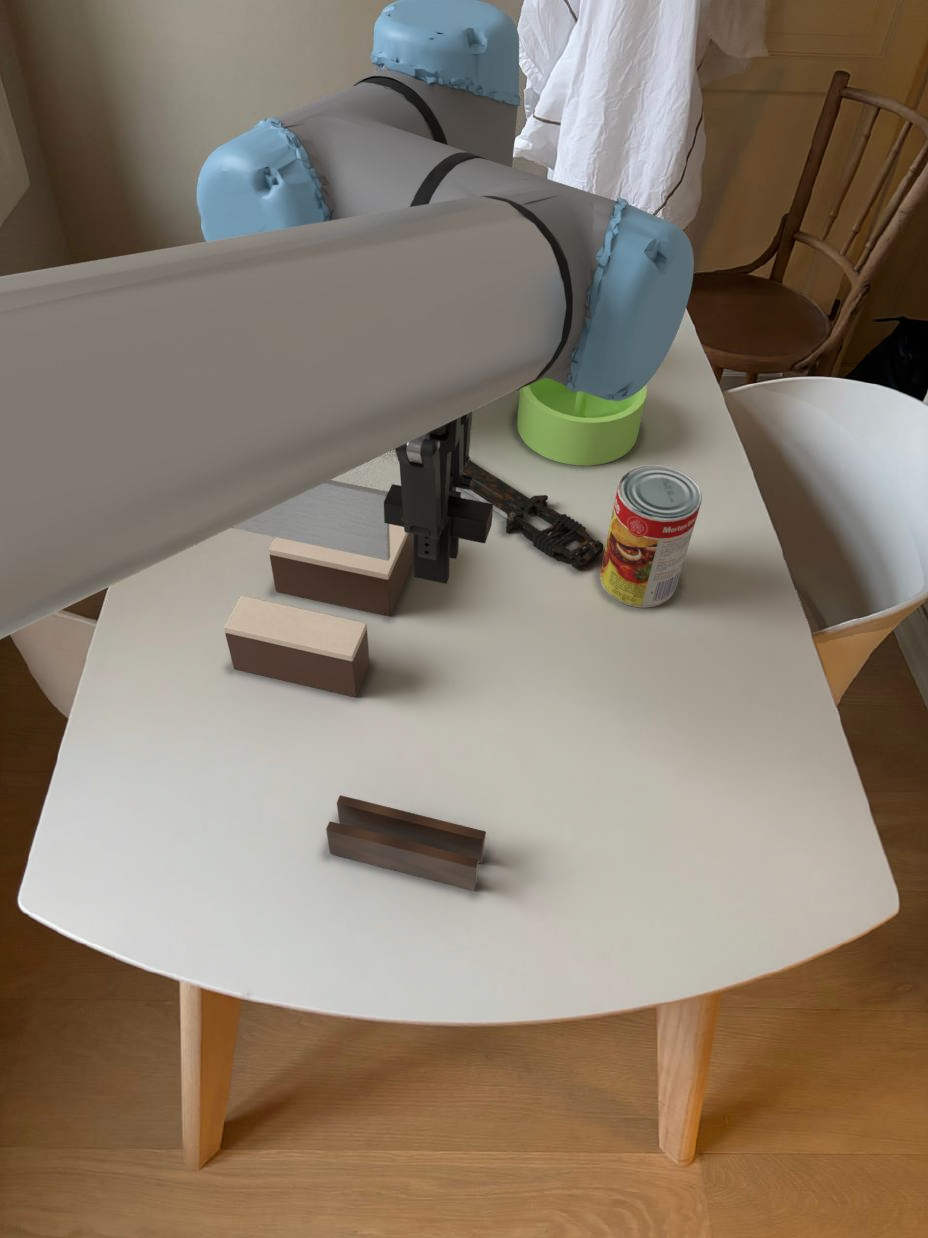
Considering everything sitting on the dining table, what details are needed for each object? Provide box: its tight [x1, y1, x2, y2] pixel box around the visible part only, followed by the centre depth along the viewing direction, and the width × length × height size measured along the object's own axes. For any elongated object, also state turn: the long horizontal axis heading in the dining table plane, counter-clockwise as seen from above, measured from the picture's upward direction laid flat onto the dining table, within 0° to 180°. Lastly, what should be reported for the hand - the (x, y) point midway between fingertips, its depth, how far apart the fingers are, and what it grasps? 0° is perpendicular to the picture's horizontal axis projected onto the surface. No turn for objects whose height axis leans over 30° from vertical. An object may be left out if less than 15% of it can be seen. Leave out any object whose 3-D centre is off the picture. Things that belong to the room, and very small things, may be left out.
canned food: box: [599, 464, 703, 609], centre depth 92 cm, size 8×8×12 cm
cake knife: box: [231, 479, 494, 561], centre depth 74 cm, size 24×2×7 cm, turn 76°
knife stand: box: [325, 795, 487, 892], centre depth 74 cm, size 12×3×4 cm, turn 75°
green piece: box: [516, 378, 648, 467], centre depth 112 cm, size 25×15×13 cm, turn 2°
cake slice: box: [223, 595, 370, 698], centre depth 86 cm, size 4×12×6 cm, turn 75°
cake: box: [268, 524, 414, 617], centre depth 94 cm, size 10×12×6 cm
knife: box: [462, 460, 605, 571], centre depth 103 cm, size 25×6×1 cm, turn 41°
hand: (436, 564), depth 75 cm, fingers closed on cake knife, 2 cm apart
